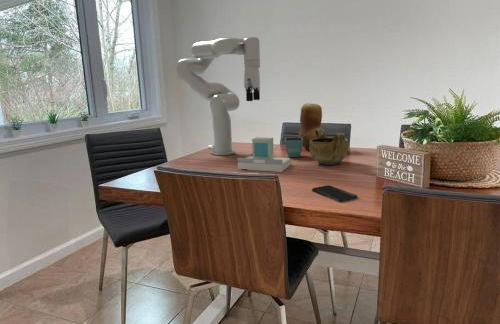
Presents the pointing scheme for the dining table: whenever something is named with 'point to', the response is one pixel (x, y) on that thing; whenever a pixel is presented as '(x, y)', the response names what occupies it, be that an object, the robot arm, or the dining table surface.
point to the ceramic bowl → (328, 148)
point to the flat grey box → (264, 164)
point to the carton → (262, 148)
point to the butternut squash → (309, 122)
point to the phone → (334, 193)
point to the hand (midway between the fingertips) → (253, 100)
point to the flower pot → (293, 146)
